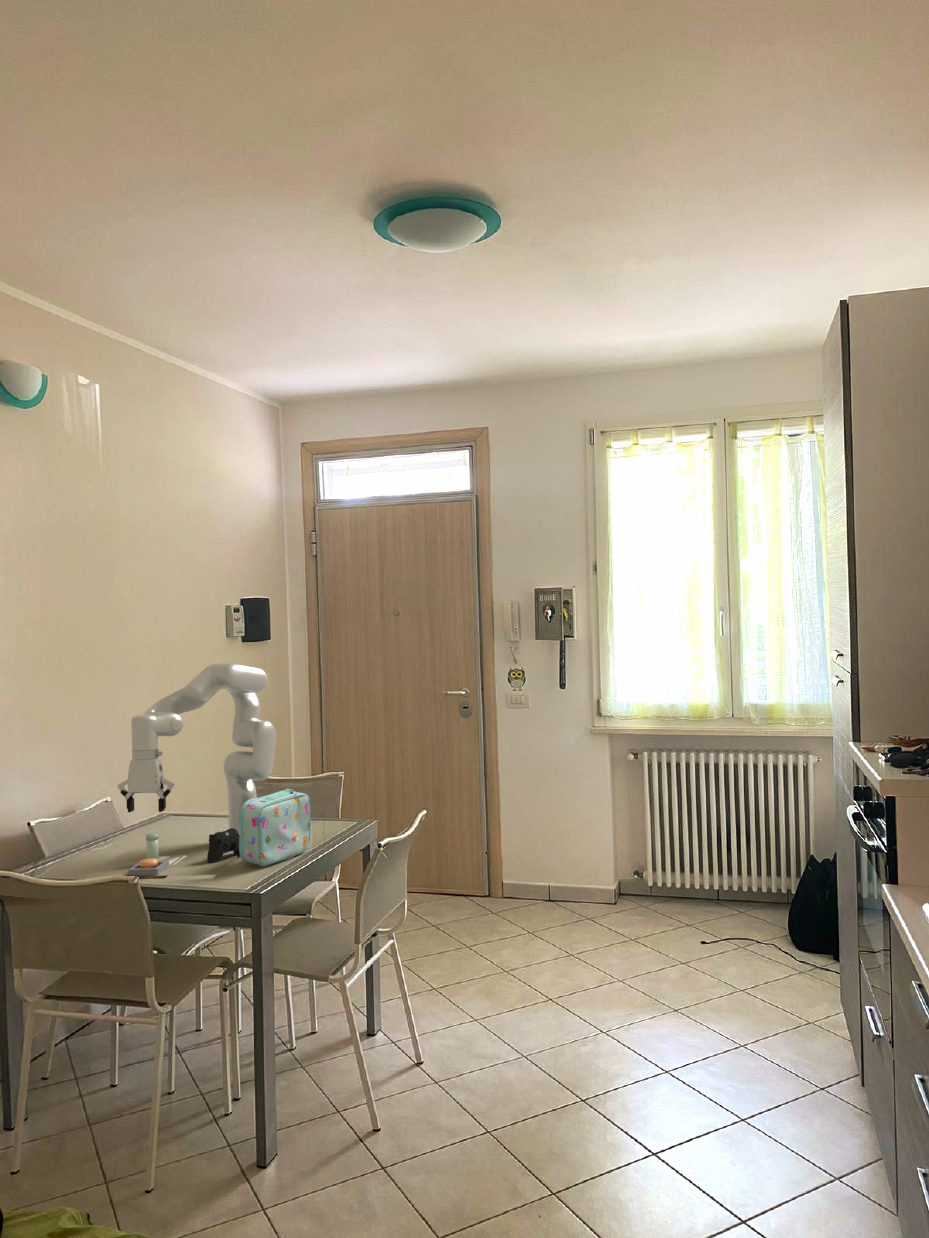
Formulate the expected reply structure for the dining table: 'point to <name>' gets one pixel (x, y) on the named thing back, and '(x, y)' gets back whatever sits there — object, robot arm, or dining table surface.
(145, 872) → the button housing
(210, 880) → the dining table surface
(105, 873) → the dining table surface
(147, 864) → the button
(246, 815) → the lunch box
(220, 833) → the gaming controller
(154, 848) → the pale green cylinder
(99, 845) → the dining table surface
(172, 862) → the drawing board
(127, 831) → the dining table surface
